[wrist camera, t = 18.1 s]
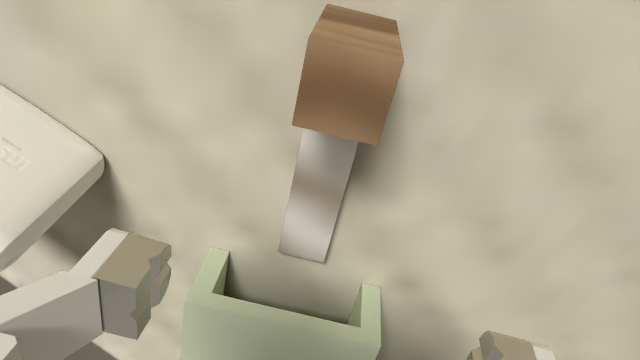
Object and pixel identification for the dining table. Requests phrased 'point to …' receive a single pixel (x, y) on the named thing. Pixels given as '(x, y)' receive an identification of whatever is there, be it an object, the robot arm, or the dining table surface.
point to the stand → (271, 325)
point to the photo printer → (38, 173)
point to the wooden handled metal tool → (337, 118)
